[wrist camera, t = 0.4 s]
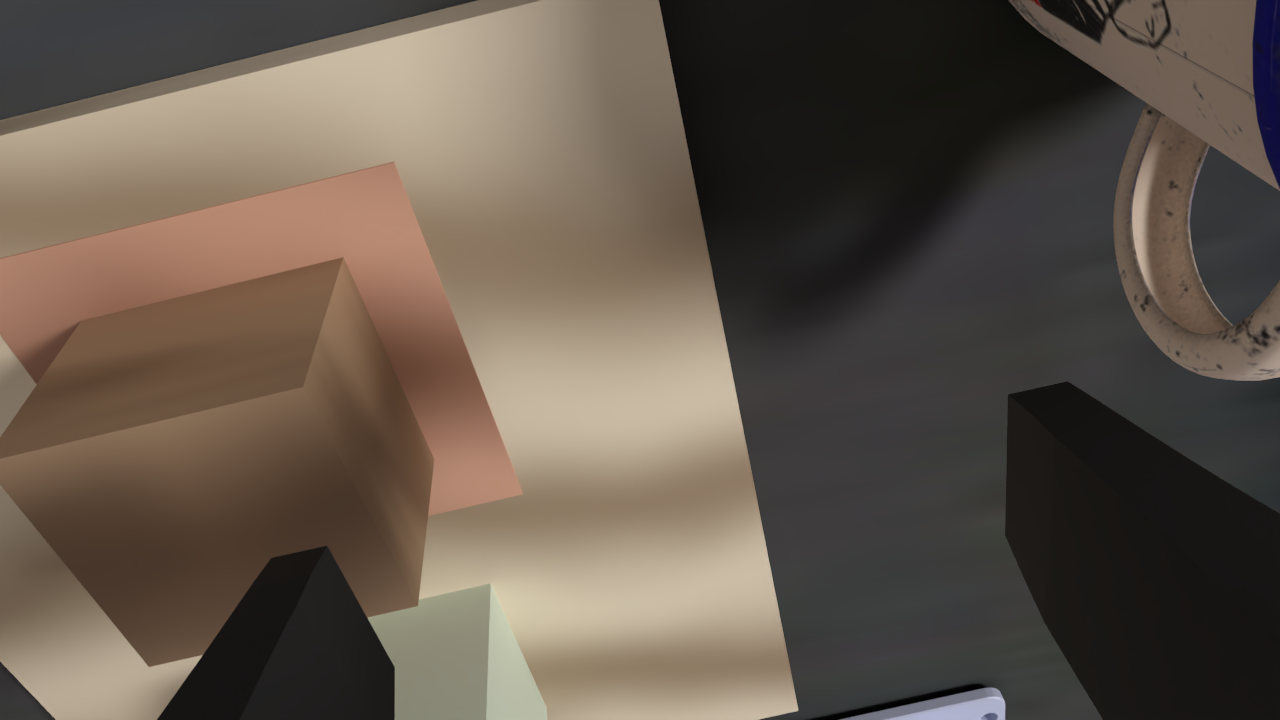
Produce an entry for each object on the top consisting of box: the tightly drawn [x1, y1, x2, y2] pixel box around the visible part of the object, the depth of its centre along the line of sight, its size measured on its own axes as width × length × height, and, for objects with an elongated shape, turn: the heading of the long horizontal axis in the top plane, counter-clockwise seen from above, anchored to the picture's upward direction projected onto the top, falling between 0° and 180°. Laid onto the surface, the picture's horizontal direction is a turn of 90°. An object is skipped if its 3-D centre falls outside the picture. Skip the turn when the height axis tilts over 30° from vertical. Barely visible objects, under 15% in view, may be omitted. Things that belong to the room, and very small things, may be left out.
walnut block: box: [0, 257, 434, 667], centre depth 18 cm, size 5×5×4 cm
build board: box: [0, 0, 798, 720], centre depth 22 cm, size 20×18×1 cm
